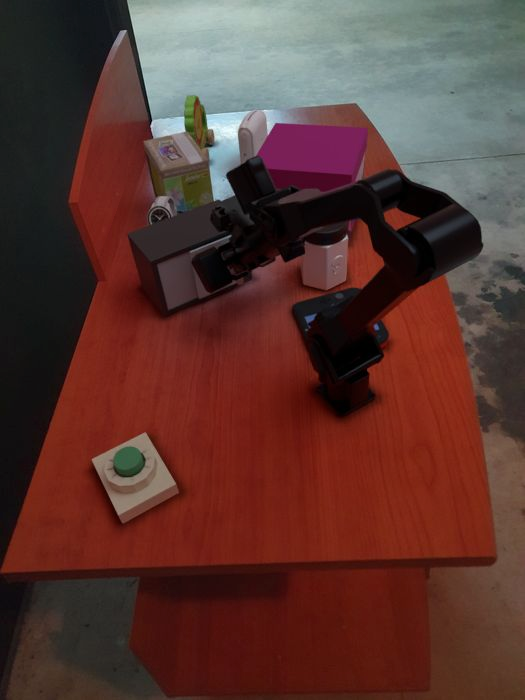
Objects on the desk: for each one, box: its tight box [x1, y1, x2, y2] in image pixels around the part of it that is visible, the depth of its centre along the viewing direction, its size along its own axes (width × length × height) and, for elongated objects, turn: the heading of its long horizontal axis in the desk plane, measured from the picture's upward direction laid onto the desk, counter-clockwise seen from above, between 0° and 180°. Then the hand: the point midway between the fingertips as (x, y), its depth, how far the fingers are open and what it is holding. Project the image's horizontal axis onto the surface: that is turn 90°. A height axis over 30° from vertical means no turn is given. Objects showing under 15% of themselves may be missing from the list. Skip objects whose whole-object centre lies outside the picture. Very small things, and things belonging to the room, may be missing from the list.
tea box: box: [143, 131, 215, 215], centre depth 118 cm, size 15×10×15 cm
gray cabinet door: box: [190, 235, 245, 299], centre depth 97 cm, size 4×9×10 cm, turn 122°
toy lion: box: [183, 94, 215, 162], centre depth 136 cm, size 16×5×15 cm, turn 176°
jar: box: [299, 221, 349, 291], centre depth 101 cm, size 9×8×12 cm
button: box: [113, 446, 144, 477], centre depth 74 cm, size 4×4×2 cm
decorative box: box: [256, 122, 369, 242], centre depth 114 cm, size 19×19×15 cm
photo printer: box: [237, 109, 269, 165], centre depth 132 cm, size 10×4×12 cm, turn 160°
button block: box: [91, 431, 180, 525], centre depth 75 cm, size 10×8×4 cm
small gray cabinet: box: [126, 199, 253, 318], centre depth 102 cm, size 10×18×12 cm, turn 122°
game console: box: [292, 287, 390, 350], centre depth 94 cm, size 14×13×2 cm
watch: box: [146, 196, 177, 226], centre depth 110 cm, size 6×8×11 cm
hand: (233, 264), depth 98 cm, fingers closed on gray cabinet door
